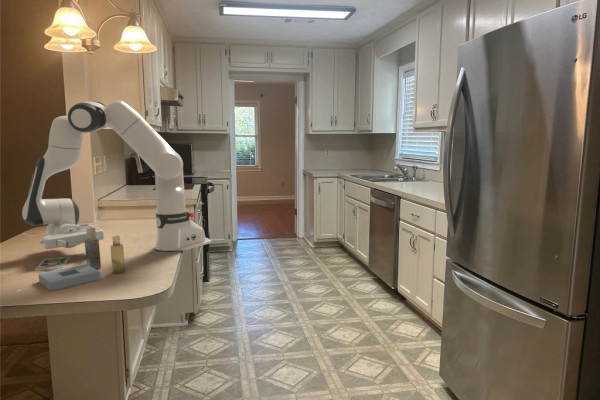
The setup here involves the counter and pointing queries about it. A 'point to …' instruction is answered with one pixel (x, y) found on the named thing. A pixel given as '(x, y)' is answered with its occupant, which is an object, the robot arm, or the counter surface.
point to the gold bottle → (117, 256)
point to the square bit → (92, 249)
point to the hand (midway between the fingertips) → (81, 241)
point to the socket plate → (68, 277)
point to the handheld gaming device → (52, 263)
